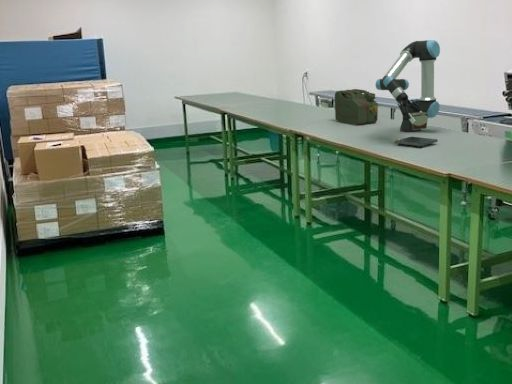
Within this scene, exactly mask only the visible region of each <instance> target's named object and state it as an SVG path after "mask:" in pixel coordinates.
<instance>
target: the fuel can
mask: <svg viewBox="0 0 512 384" xmlns="http://www.w3.org/2000/svg"><path fill="white" fill-rule="evenodd" d="M375 99H376V94H375V93H373V92H370V91H367V90H365V89H358V88H354V89H353V88H352V89H345V90H337V91H335V93H334V112H335V113H334V116H335V121H336V122H337V123H340V124H341V123H342V124H347V125H351V126H352V125H353V126H361V125H367V124H368V123H369V124H374V123H375V124H376V122H377V121H378V115H379V114H378V113H379V112H378V111H379V110H378V108H379V106H378V102H377V101H376V100H375ZM369 124H368V125H369Z"/></svg>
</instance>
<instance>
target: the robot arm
mask: <svg viewBox="0 0 512 384" xmlns="http://www.w3.org/2000/svg"><path fill="white" fill-rule="evenodd" d="M440 47H441V46H440V44H439V42H438V41H436V40H433V39H431V40H430V39H428V40H416V41H415V40H414V41H412V42H411V43H409V44H408V45H406V46H405V47H403V49H402V50H401V51H400V53H399V56H398V58H397V59H396V60H395V61H394V63H393V64H392V66H391V67H390V68H389V70H387V72H386V73H385V74H384V76H383V77H382V78H378V79H377V80H376V81H375V88H376V90H378V91H388V92H389V93H390V94H391V96H392V97H393V98H394V100H395V101H396V102H397V106H398V107H399V110H400V112H401V114H402V121H401V124H400V127H399V131H400V132H404V133H416V132H421V131H422V129H417V130H412V124H413V123H414V122H415V119H414V118H413V117H412V116H411V113H419V112H424V113H428V114H429V116H428V119H432V118H435V117H436V116H437V115H438V114H439V110H440V103H439V101H437V98H436V97H435V62H436V61H437V58H438V57H439V56H440V53H441V48H440ZM413 59H418V61H419V62H420V63H421V64H420V65H421V71H420V73H421V77H420V78H421V81H420V83H421V89H420V90H421V91H420V92H421V93H420V94H421V95H420V96H421V97H420V98H413V99H412V98H411V99H409V95H408V94H407V93H406V92H405V91H406V90H408V88H409V85H410V83H409V80H408V79H405V78H398V76H399V75H400V74H401V72H402V71H404V69H405V67H406V66H407V65H408V63H409V62H412V61H413Z"/></svg>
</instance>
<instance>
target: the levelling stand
mask: <svg viewBox="0 0 512 384" xmlns="http://www.w3.org/2000/svg"><path fill="white" fill-rule="evenodd" d="M437 142H439V141H438V138H430V137H429V138H428V137H420V136H419V137H418V136H409V137H404V138H397V139H395V140H394V144H397V145H398V146H405V145H409V146H416V147H415V148H418V149H419V148H420V149H421V148H423V147H424V146H426V145H429V144H430V145H431V144H433V143H437Z"/></svg>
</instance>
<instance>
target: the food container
mask: <svg viewBox="0 0 512 384" xmlns="http://www.w3.org/2000/svg"><path fill="white" fill-rule="evenodd" d="M411 116H412V117H413V118H414V119H415V122H414V123H413V124H412V130H417V129H421V130H425V129H427V127H428V126H427V125H428V121H429V120H428V119H429V118H428V116H429V114H428V113H424V112H419V113H411Z"/></svg>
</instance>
